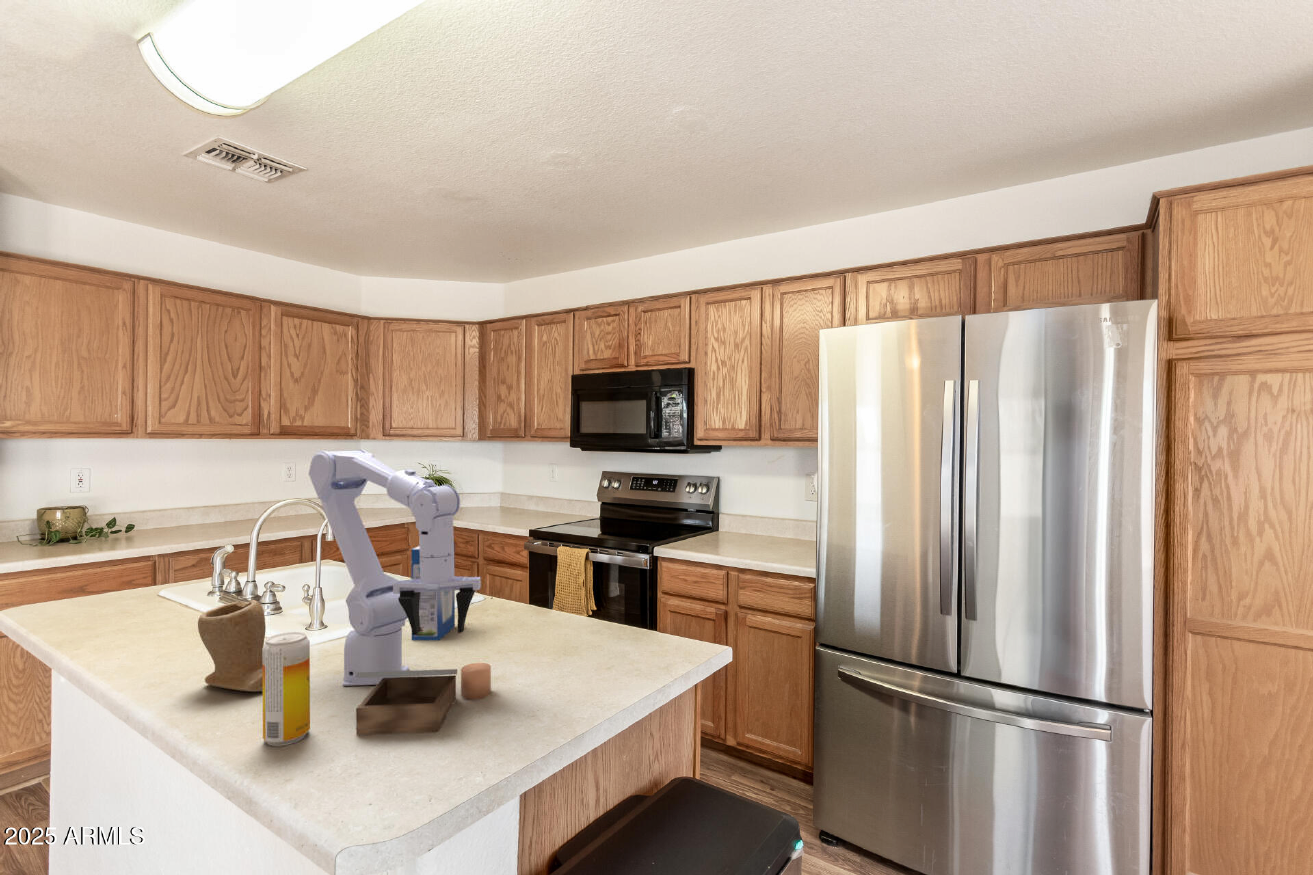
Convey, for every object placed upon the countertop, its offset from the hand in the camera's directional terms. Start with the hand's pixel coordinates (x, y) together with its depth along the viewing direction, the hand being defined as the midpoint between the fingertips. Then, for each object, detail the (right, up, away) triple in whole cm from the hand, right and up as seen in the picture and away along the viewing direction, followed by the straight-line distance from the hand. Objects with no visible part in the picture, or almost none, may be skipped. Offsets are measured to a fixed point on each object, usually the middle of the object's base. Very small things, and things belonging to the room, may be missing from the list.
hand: (438, 632), depth 112 cm
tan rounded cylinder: (+7, -11, -1) cm, 13 cm away
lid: (-2, -4, -9) cm, 10 cm away
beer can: (-17, -11, -17) cm, 26 cm away
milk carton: (-12, -11, +33) cm, 37 cm away
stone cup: (-36, -11, +3) cm, 37 cm away
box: (-2, -11, -9) cm, 14 cm away
